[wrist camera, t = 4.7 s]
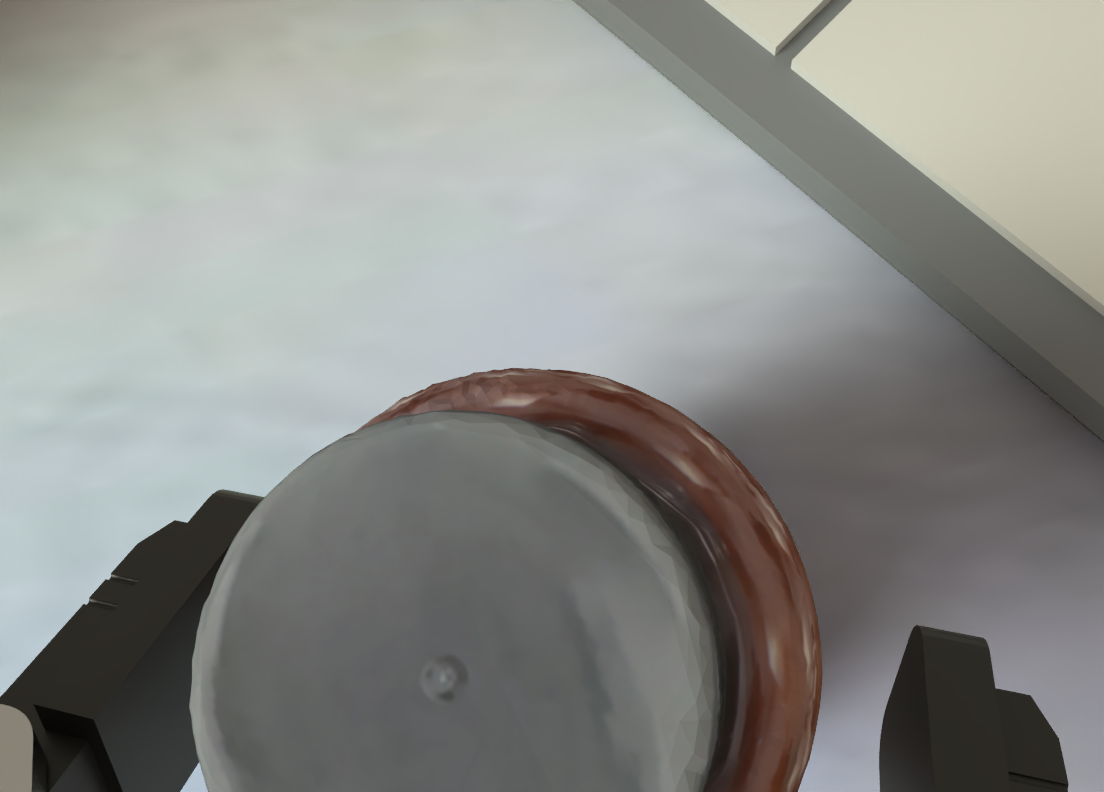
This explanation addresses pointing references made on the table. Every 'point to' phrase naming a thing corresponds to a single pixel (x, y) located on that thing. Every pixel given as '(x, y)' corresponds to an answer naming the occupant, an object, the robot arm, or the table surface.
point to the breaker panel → (926, 147)
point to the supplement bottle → (511, 607)
